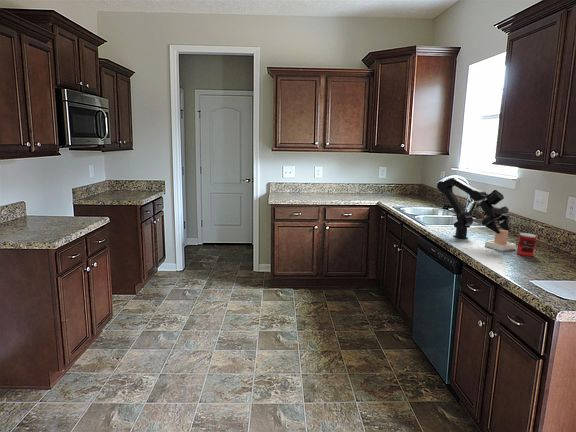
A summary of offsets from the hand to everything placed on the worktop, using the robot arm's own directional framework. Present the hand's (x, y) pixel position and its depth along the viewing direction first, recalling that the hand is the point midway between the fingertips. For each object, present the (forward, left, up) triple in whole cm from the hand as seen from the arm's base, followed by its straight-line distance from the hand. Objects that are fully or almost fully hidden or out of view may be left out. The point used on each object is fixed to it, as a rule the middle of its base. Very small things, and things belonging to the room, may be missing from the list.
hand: (504, 232), depth 231 cm
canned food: (+13, +4, -9) cm, 16 cm away
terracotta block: (-1, 0, -8) cm, 8 cm away
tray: (-1, 0, -9) cm, 9 cm away
